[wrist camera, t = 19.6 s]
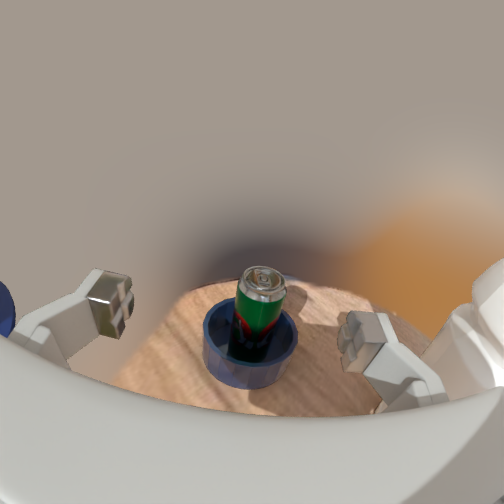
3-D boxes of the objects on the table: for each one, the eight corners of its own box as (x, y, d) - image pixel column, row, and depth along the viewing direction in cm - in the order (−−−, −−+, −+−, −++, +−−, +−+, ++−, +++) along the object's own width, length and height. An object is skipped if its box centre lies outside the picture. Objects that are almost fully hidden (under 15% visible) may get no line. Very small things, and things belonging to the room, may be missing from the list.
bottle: (363, 477, 19) (581, 262, 5) (369, 384, 31) (482, 184, 16) (452, 472, 17) (618, 305, 2) (444, 394, 28) (554, 233, 14)
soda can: (265, 338, 35) (286, 266, 29) (267, 368, 31) (292, 297, 25) (228, 335, 35) (239, 261, 29) (226, 365, 31) (238, 291, 25)
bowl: (205, 391, 27) (206, 369, 25) (200, 322, 37) (201, 296, 34) (297, 384, 30) (310, 362, 27) (276, 321, 39) (284, 296, 37)
